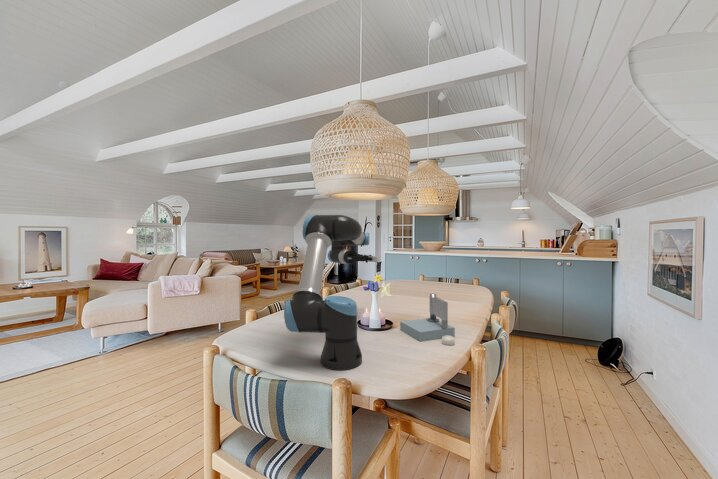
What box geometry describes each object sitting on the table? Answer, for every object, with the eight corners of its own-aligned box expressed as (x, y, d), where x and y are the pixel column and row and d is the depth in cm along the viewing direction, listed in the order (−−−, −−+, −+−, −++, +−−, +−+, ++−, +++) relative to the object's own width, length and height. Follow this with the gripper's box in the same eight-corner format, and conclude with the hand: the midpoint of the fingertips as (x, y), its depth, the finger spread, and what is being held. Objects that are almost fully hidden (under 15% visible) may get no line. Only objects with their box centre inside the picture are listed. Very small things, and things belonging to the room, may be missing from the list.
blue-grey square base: (455, 336, 140) (455, 326, 140) (420, 341, 134) (420, 330, 134) (432, 325, 157) (432, 316, 157) (400, 329, 150) (400, 320, 150)
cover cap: (439, 336, 133) (440, 342, 133) (445, 340, 128) (446, 346, 128) (450, 334, 134) (450, 340, 134) (456, 338, 129) (456, 344, 129)
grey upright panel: (442, 328, 137) (442, 300, 137) (428, 318, 153) (428, 293, 153) (448, 327, 138) (448, 300, 138) (434, 318, 154) (434, 293, 153)
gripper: (357, 263, 176) (387, 265, 159) (339, 264, 168) (368, 267, 150) (357, 249, 176) (387, 251, 159) (338, 250, 168) (368, 252, 150)
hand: (378, 259), depth 154 cm, fingers closed
